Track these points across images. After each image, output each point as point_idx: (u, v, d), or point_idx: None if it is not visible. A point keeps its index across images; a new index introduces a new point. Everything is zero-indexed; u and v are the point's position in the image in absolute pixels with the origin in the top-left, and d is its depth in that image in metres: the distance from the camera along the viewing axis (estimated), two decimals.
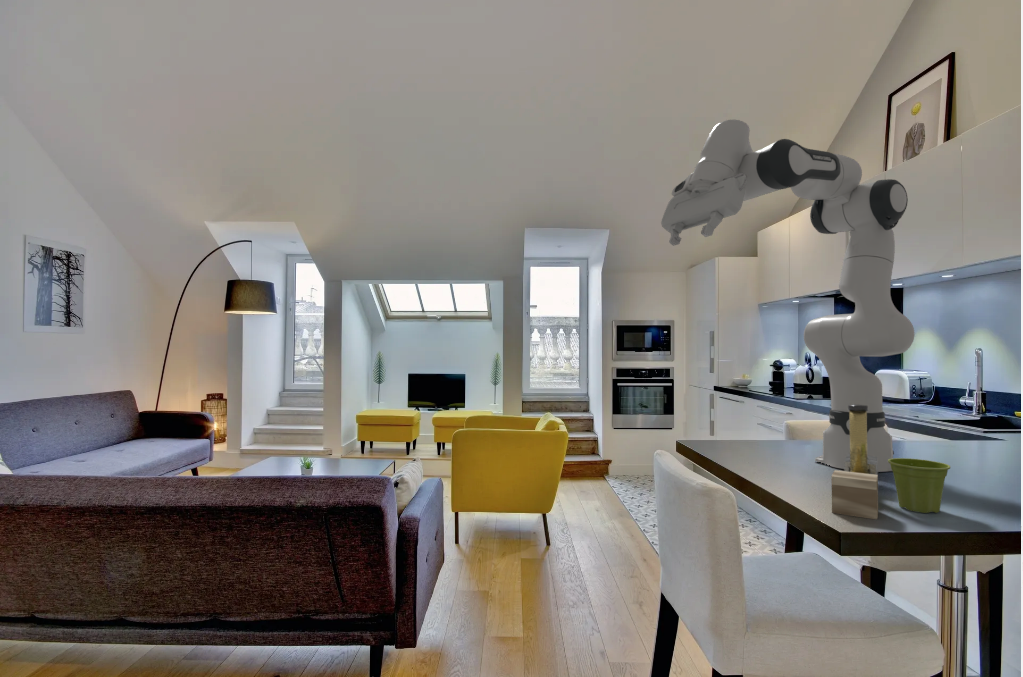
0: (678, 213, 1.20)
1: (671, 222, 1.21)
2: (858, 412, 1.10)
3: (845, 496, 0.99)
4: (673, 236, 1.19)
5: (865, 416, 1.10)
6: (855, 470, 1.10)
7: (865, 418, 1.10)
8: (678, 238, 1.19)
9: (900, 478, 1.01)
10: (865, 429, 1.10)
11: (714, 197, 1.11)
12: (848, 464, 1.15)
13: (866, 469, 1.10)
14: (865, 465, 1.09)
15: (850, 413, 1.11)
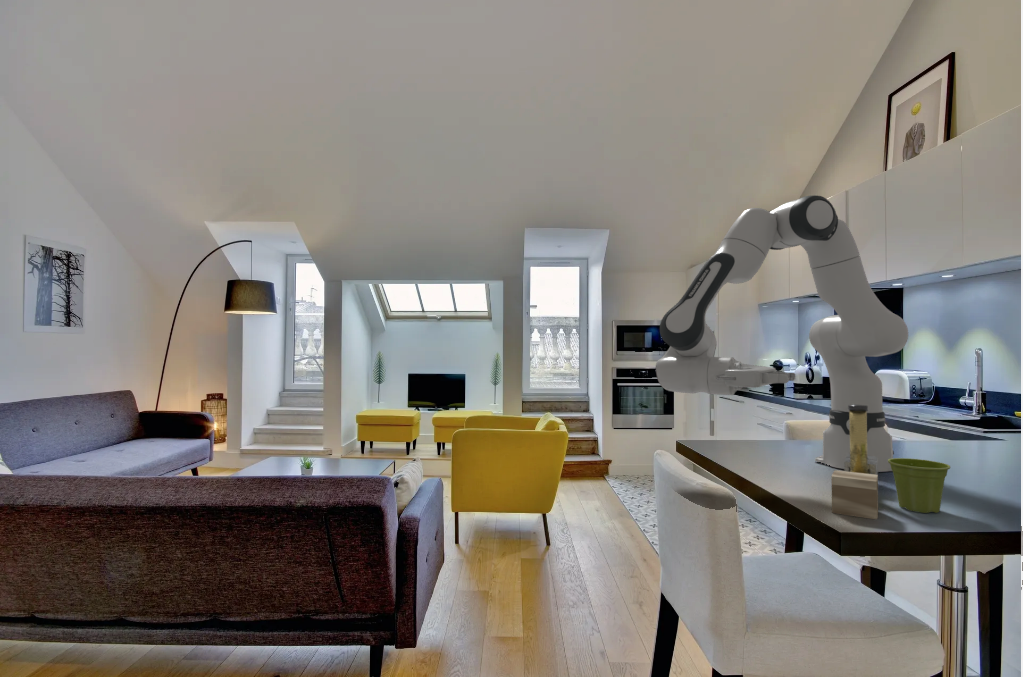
0: None
1: None
2: (858, 412, 1.10)
3: (845, 496, 0.99)
4: (788, 380, 1.23)
5: (865, 416, 1.10)
6: (855, 470, 1.10)
7: (865, 418, 1.10)
8: (787, 376, 1.22)
9: (900, 478, 1.01)
10: (865, 429, 1.10)
11: None
12: (848, 464, 1.15)
13: (866, 469, 1.10)
14: (865, 465, 1.09)
15: (850, 413, 1.11)
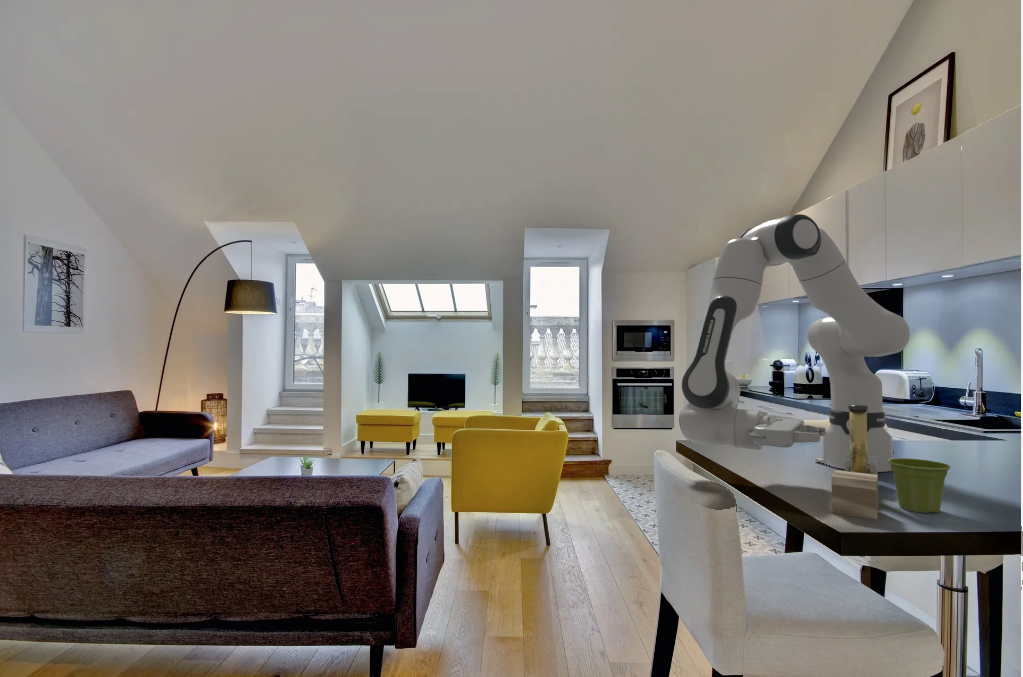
0: None
1: None
2: (858, 412, 1.10)
3: (845, 496, 0.99)
4: None
5: (865, 416, 1.10)
6: (855, 470, 1.10)
7: (865, 418, 1.10)
8: (817, 430, 1.19)
9: (900, 478, 1.01)
10: (865, 429, 1.10)
11: None
12: (848, 464, 1.15)
13: (866, 469, 1.10)
14: (865, 465, 1.09)
15: (850, 413, 1.11)
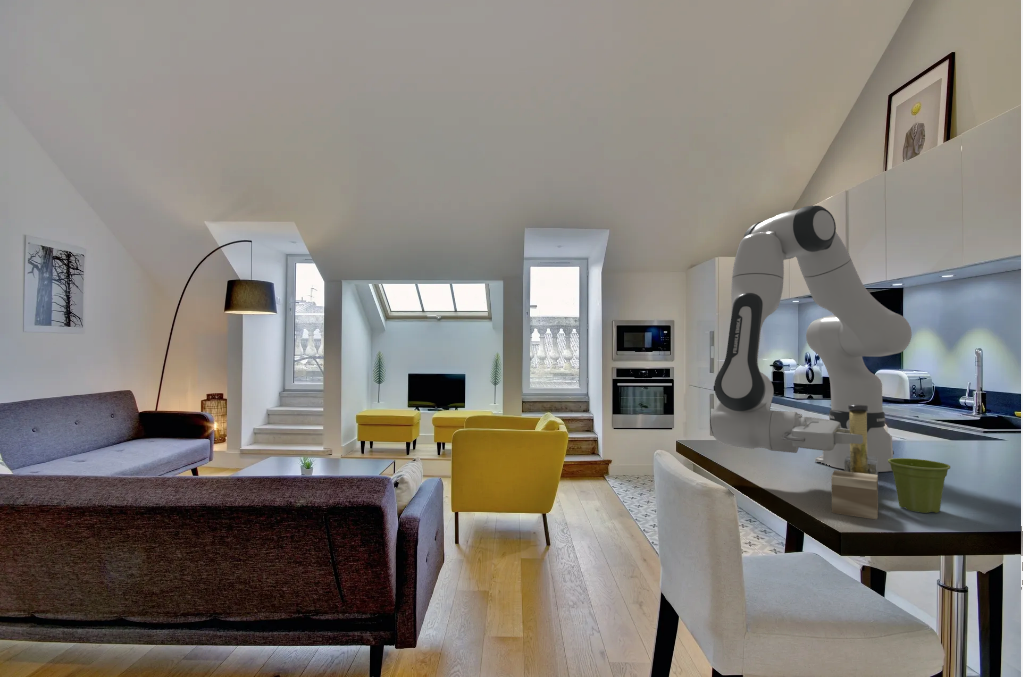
0: None
1: None
2: (858, 412, 1.10)
3: (845, 496, 0.99)
4: None
5: (865, 416, 1.10)
6: (855, 470, 1.10)
7: (865, 418, 1.10)
8: None
9: (900, 478, 1.01)
10: (865, 429, 1.10)
11: None
12: (848, 464, 1.15)
13: (866, 469, 1.10)
14: (865, 465, 1.09)
15: (850, 413, 1.11)
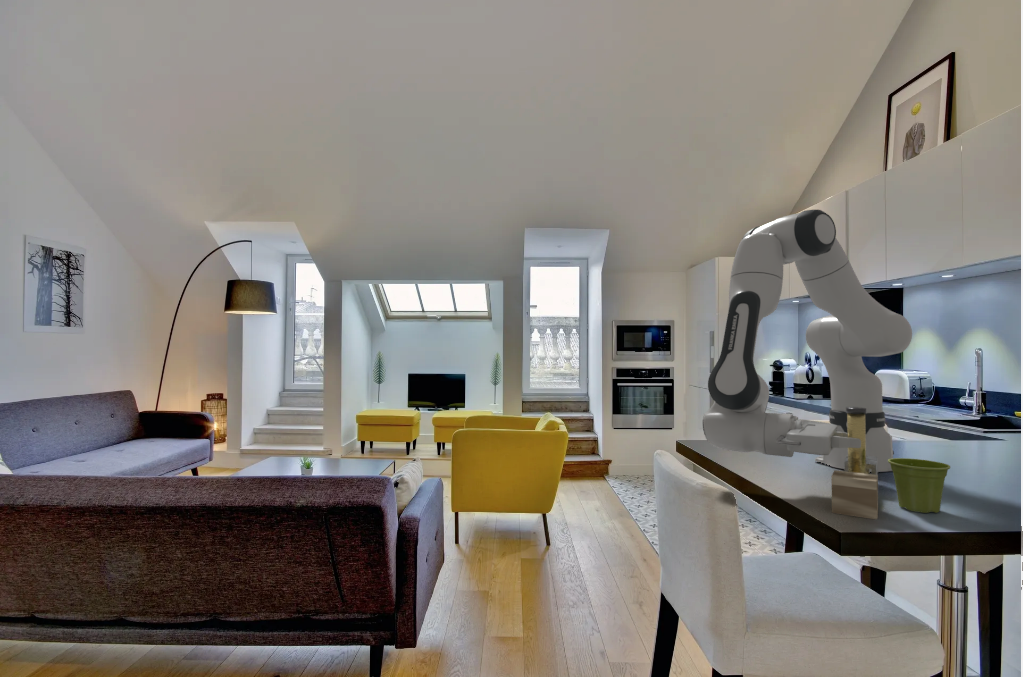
0: None
1: None
2: (856, 415, 1.05)
3: (845, 496, 0.99)
4: None
5: (864, 419, 1.05)
6: None
7: (864, 421, 1.05)
8: None
9: (900, 478, 1.01)
10: (864, 433, 1.05)
11: None
12: None
13: None
14: (864, 470, 1.05)
15: (848, 416, 1.06)
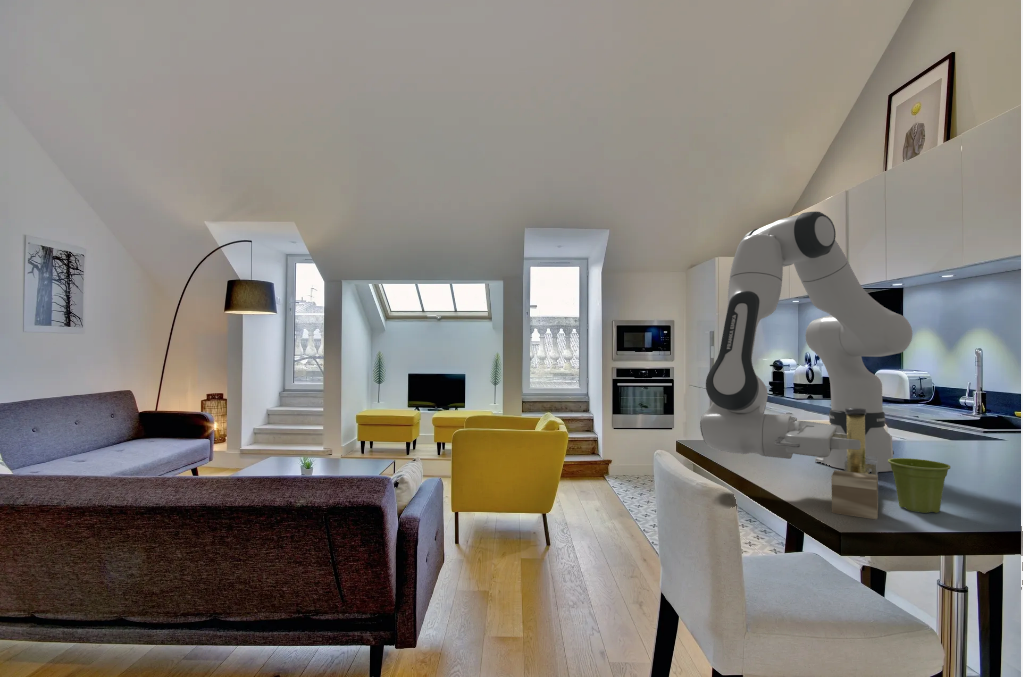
0: None
1: None
2: (856, 416, 1.04)
3: (845, 496, 0.99)
4: None
5: (863, 420, 1.04)
6: None
7: (863, 422, 1.04)
8: None
9: (900, 478, 1.01)
10: (863, 434, 1.03)
11: None
12: None
13: None
14: (863, 472, 1.03)
15: (847, 417, 1.05)
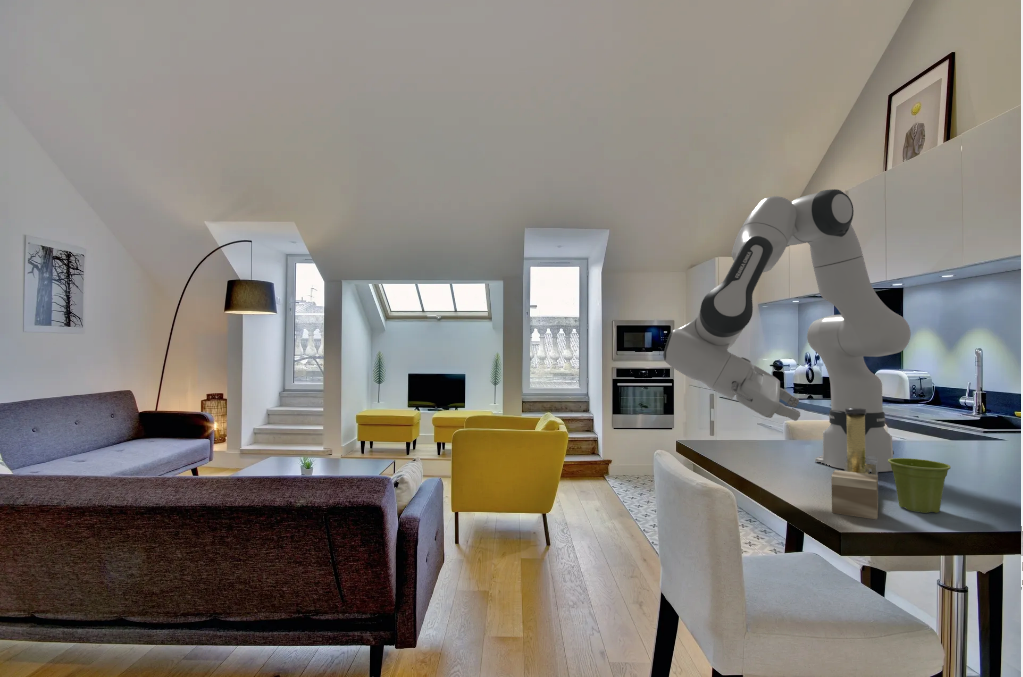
0: None
1: None
2: (856, 416, 1.04)
3: (845, 496, 0.99)
4: None
5: (863, 420, 1.04)
6: None
7: (863, 422, 1.04)
8: (792, 400, 1.16)
9: (901, 478, 1.01)
10: (863, 434, 1.04)
11: None
12: None
13: None
14: (863, 472, 1.03)
15: (847, 417, 1.05)
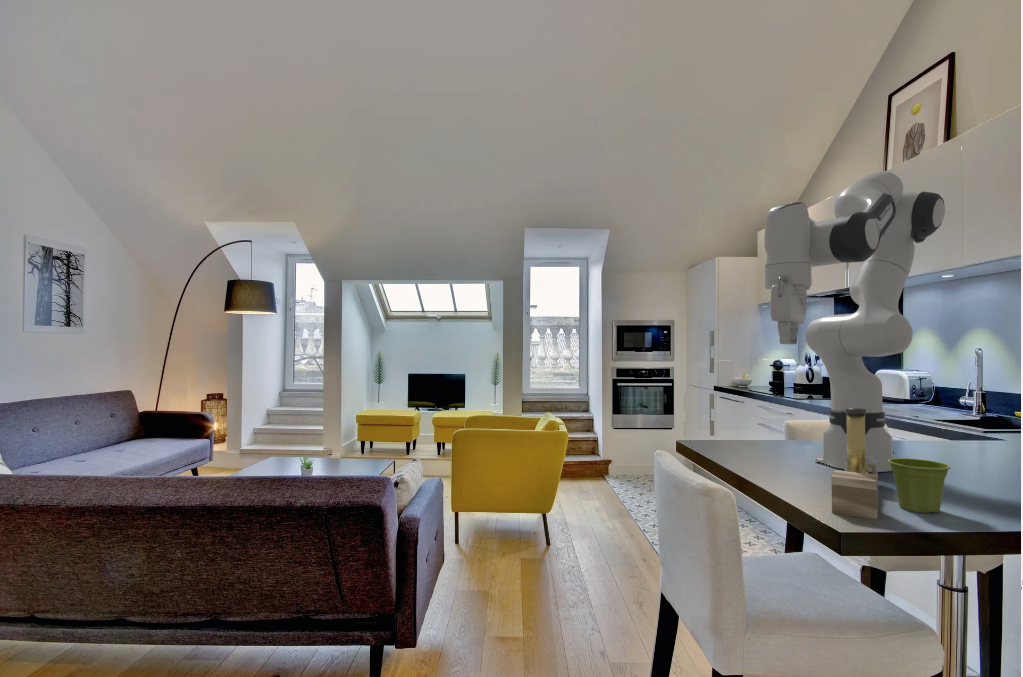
0: None
1: None
2: (856, 416, 1.04)
3: (845, 496, 0.99)
4: None
5: (863, 420, 1.04)
6: None
7: (863, 422, 1.04)
8: (792, 338, 1.18)
9: (900, 478, 1.01)
10: (863, 434, 1.04)
11: None
12: None
13: None
14: (863, 472, 1.03)
15: (847, 417, 1.05)
